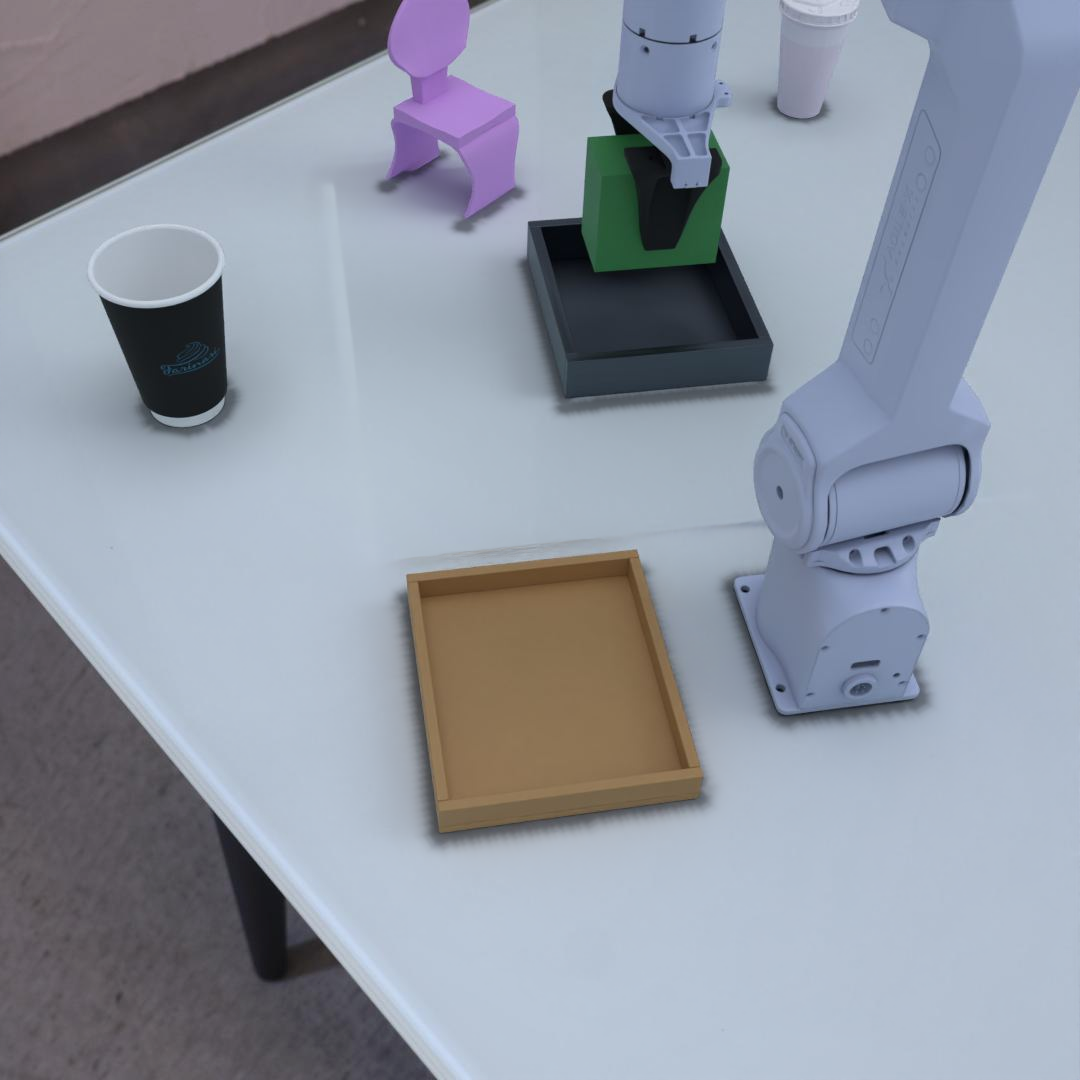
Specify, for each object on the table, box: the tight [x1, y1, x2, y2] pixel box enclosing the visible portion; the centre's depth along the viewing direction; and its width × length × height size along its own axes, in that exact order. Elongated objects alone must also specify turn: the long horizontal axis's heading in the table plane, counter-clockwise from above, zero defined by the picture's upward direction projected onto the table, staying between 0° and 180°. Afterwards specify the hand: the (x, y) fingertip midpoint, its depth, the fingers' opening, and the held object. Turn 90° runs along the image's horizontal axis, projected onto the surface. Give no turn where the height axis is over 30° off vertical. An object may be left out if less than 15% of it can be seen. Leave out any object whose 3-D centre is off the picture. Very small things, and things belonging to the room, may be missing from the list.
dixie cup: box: [86, 223, 228, 428], centre depth 81 cm, size 8×8×11 cm
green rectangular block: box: [581, 128, 731, 272], centre depth 83 cm, size 4×8×7 cm, turn 100°
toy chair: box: [386, 0, 520, 219], centre depth 96 cm, size 8×9×15 cm
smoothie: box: [776, 0, 860, 119], centre depth 107 cm, size 6×6×14 cm
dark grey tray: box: [526, 216, 775, 400], centre depth 90 cm, size 16×14×4 cm
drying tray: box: [405, 548, 704, 834], centre depth 70 cm, size 15×13×2 cm
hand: (650, 224), depth 84 cm, fingers closed on green rectangular block, 4 cm apart
